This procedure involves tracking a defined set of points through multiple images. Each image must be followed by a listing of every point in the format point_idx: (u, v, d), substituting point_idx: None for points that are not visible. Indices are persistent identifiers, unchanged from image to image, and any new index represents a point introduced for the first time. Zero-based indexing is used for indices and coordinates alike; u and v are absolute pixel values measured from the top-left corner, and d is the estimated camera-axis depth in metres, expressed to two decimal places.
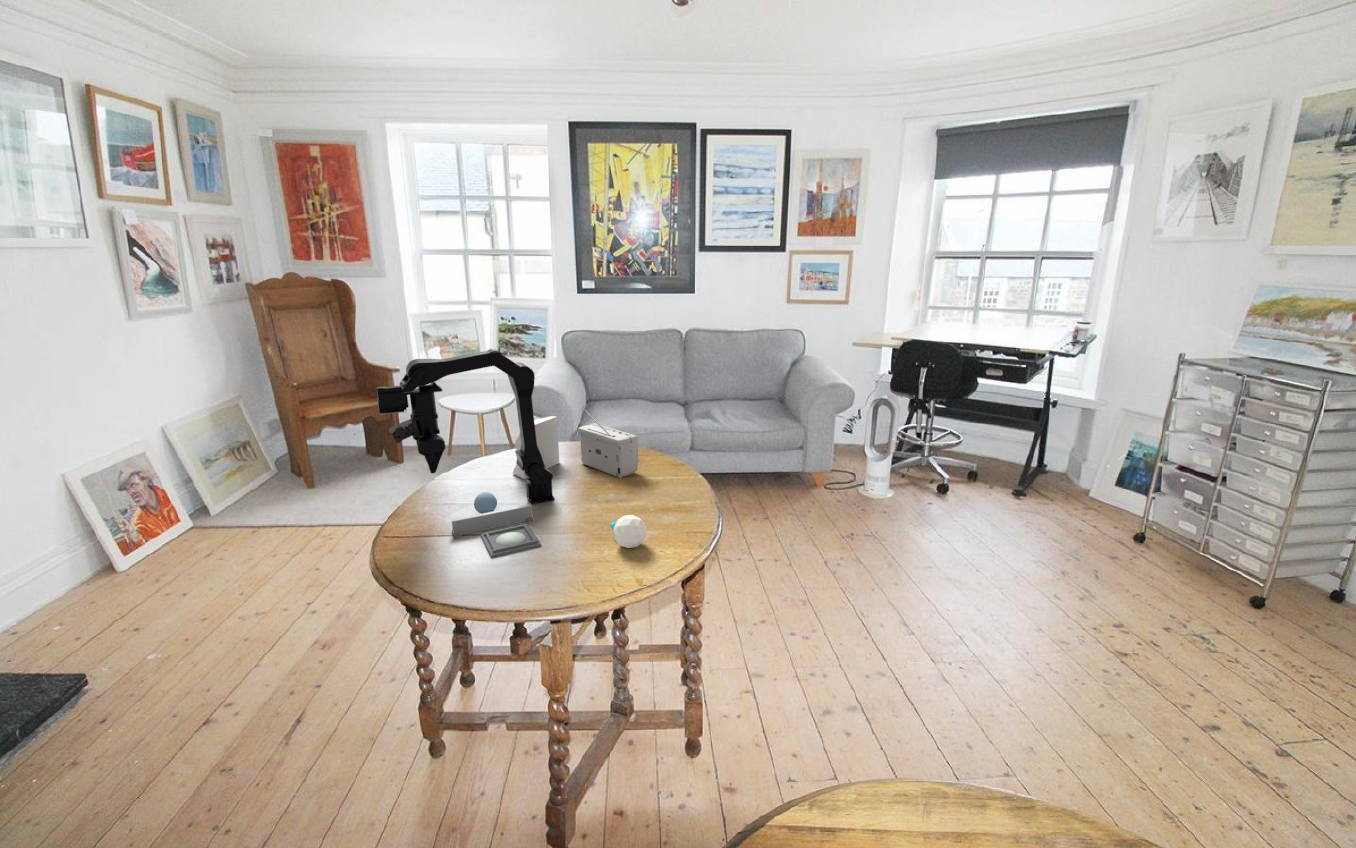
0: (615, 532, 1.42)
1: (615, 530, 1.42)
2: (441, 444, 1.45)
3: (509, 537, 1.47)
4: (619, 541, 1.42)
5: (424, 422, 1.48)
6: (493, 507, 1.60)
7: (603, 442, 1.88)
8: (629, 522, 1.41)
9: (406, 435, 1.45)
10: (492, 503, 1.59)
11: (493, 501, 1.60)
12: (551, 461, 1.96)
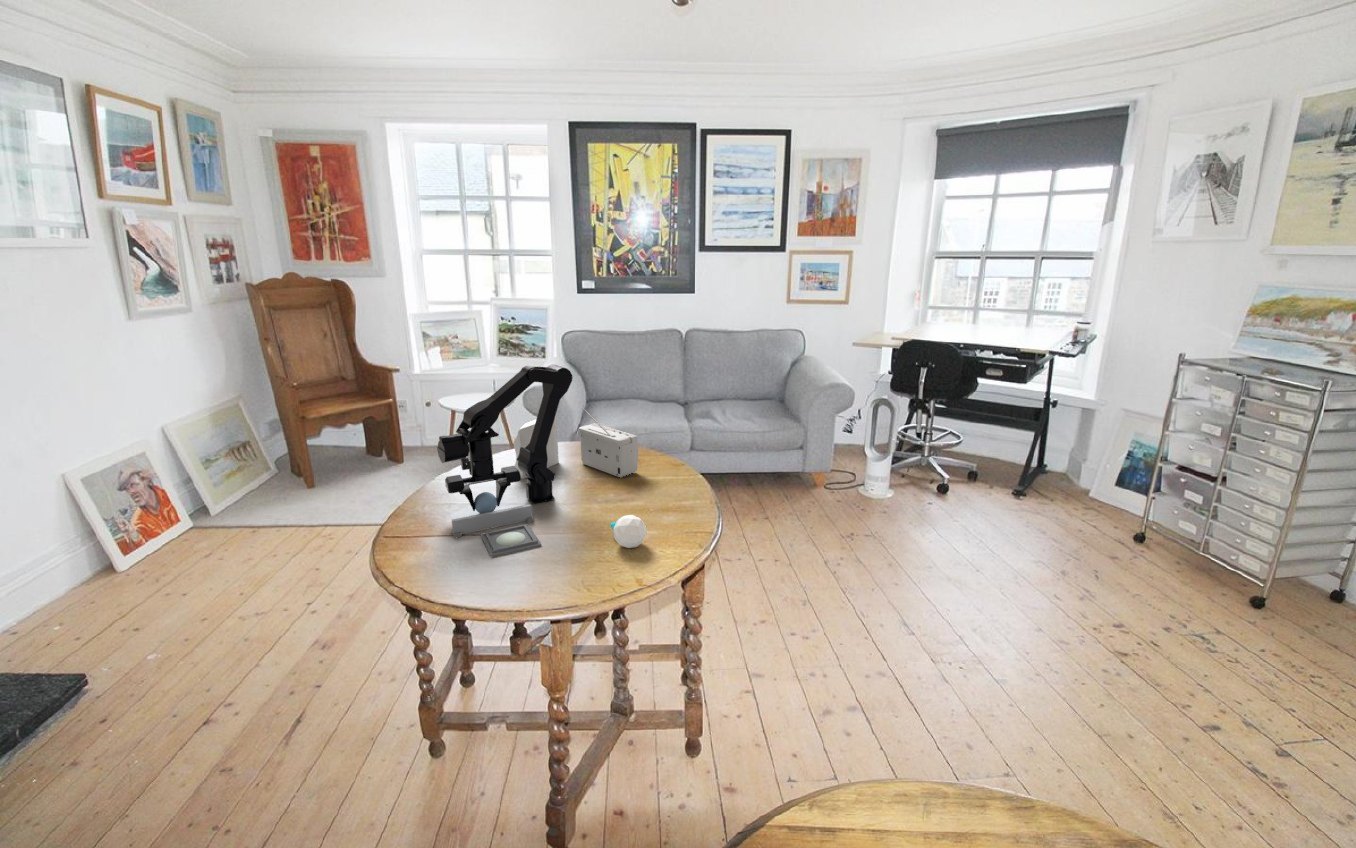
0: (615, 532, 1.42)
1: (615, 530, 1.42)
2: (447, 487, 1.53)
3: (509, 537, 1.47)
4: (619, 541, 1.42)
5: (470, 464, 1.57)
6: (493, 507, 1.60)
7: (603, 442, 1.88)
8: (629, 522, 1.41)
9: (462, 468, 1.60)
10: (493, 503, 1.59)
11: (493, 501, 1.60)
12: (550, 461, 1.96)
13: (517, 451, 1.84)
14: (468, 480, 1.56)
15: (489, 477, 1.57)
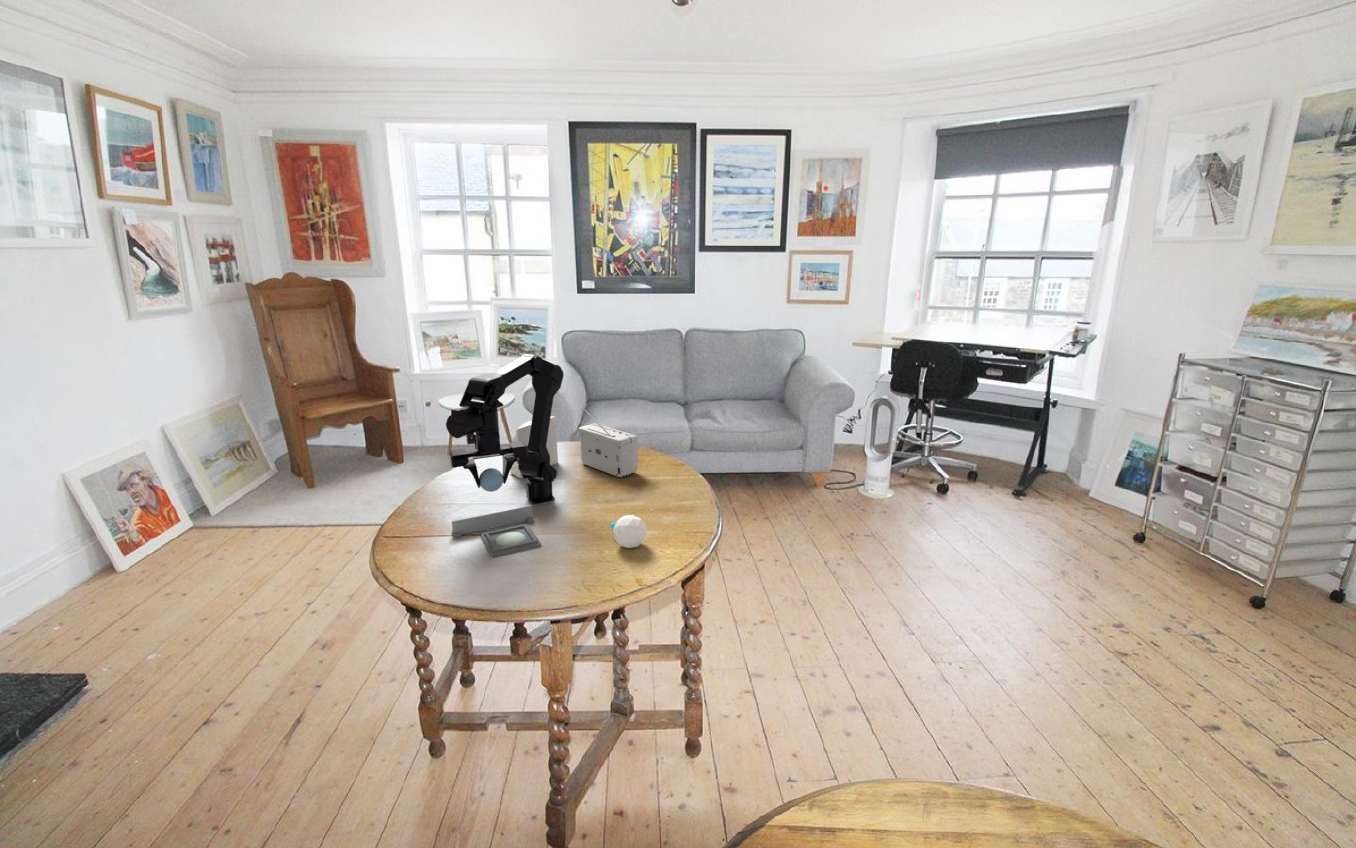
0: (615, 532, 1.42)
1: (615, 530, 1.42)
2: (451, 461, 1.44)
3: (509, 537, 1.47)
4: (619, 541, 1.42)
5: None
6: (499, 484, 1.50)
7: (603, 442, 1.88)
8: (629, 522, 1.41)
9: (467, 442, 1.51)
10: (498, 479, 1.50)
11: (499, 477, 1.50)
12: None
13: None
14: (473, 454, 1.47)
15: (495, 451, 1.47)
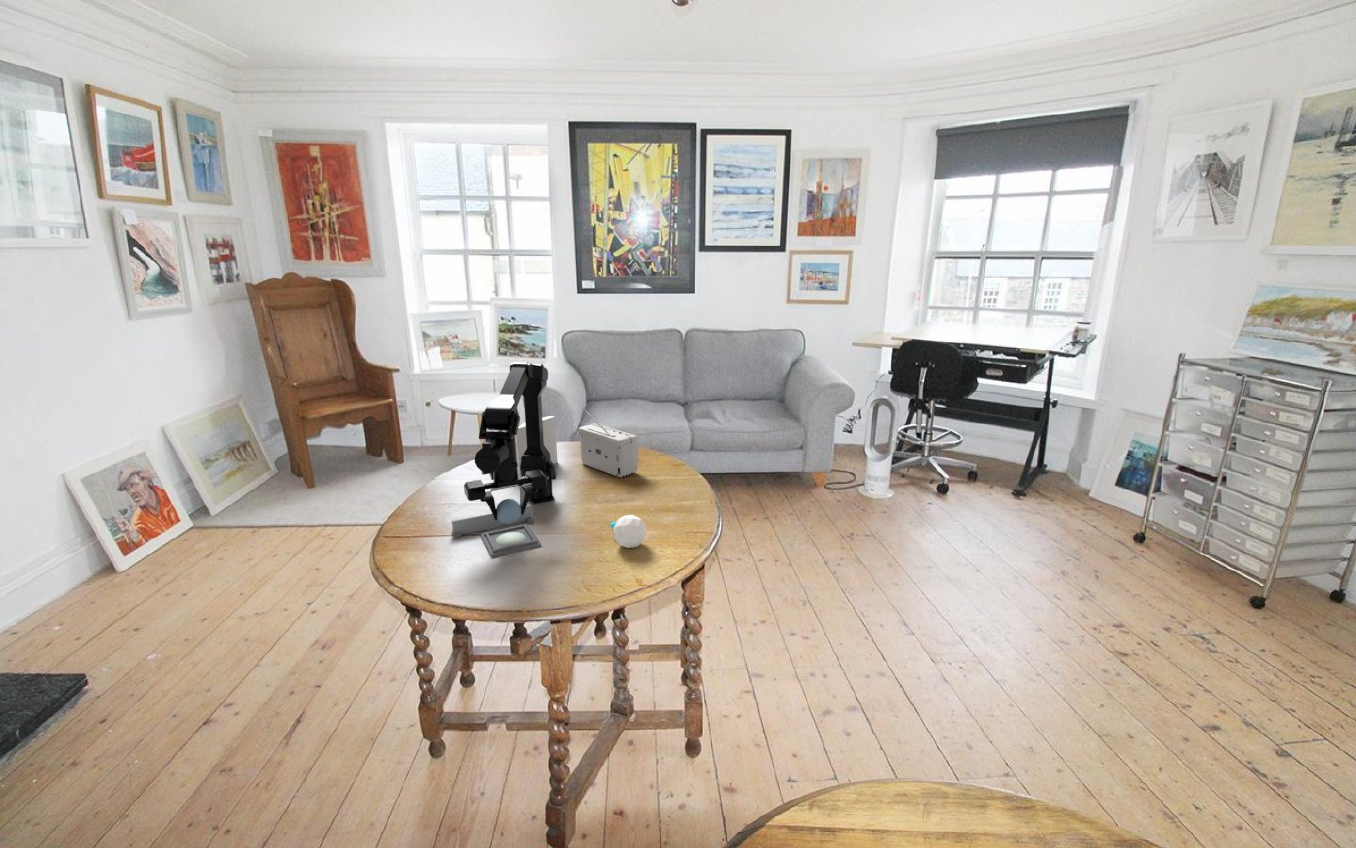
0: (615, 532, 1.42)
1: (615, 530, 1.42)
2: (467, 494, 1.36)
3: (509, 537, 1.47)
4: (619, 541, 1.42)
5: None
6: (517, 516, 1.43)
7: (603, 442, 1.88)
8: (629, 522, 1.41)
9: (483, 472, 1.44)
10: (517, 511, 1.43)
11: (517, 509, 1.43)
12: None
13: None
14: (490, 486, 1.40)
15: (513, 482, 1.40)
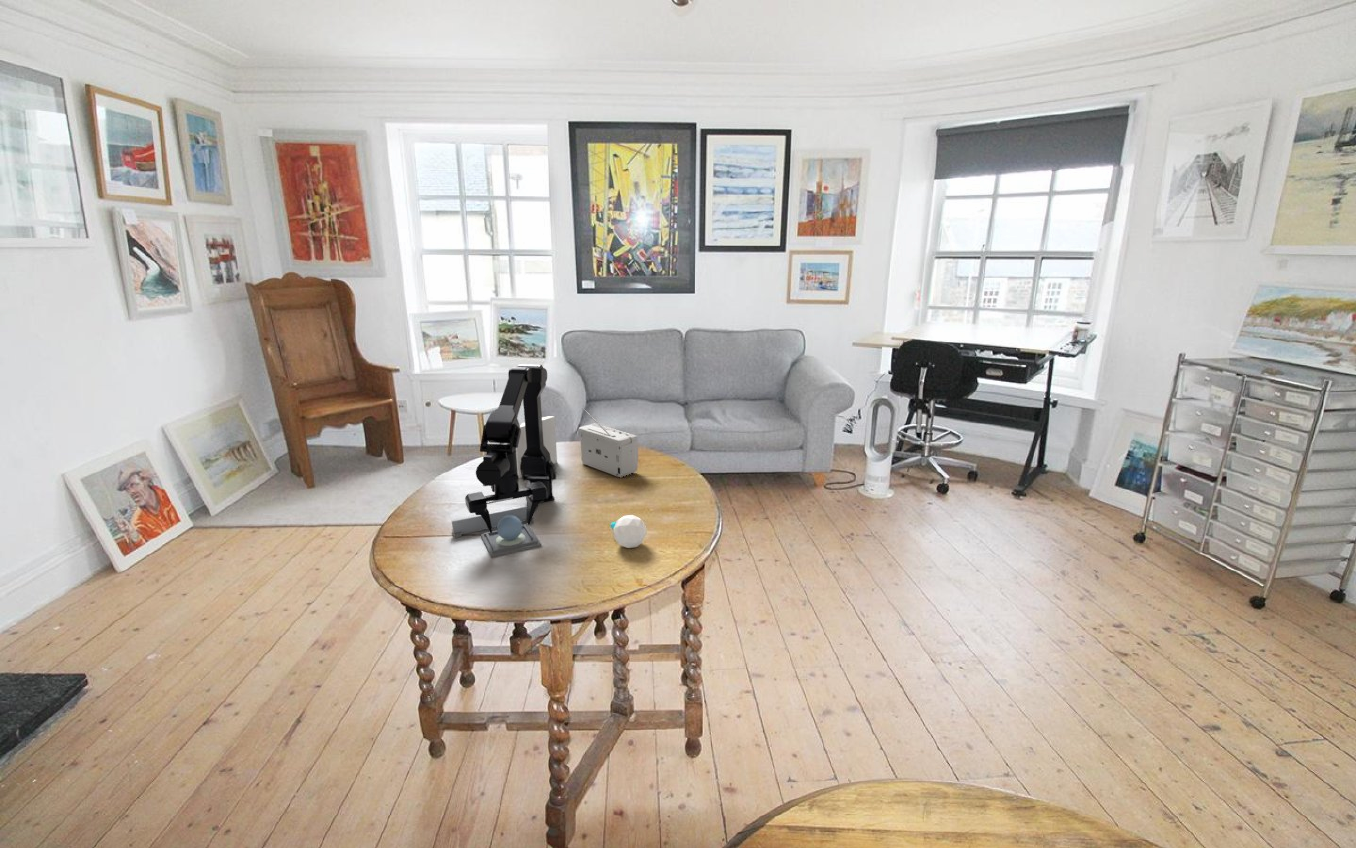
0: (615, 532, 1.42)
1: (615, 530, 1.42)
2: (468, 507, 1.37)
3: None
4: (619, 541, 1.42)
5: None
6: (518, 532, 1.45)
7: (603, 442, 1.88)
8: (629, 522, 1.41)
9: (484, 484, 1.45)
10: (518, 527, 1.44)
11: (518, 525, 1.44)
12: None
13: None
14: (491, 498, 1.41)
15: (514, 494, 1.41)
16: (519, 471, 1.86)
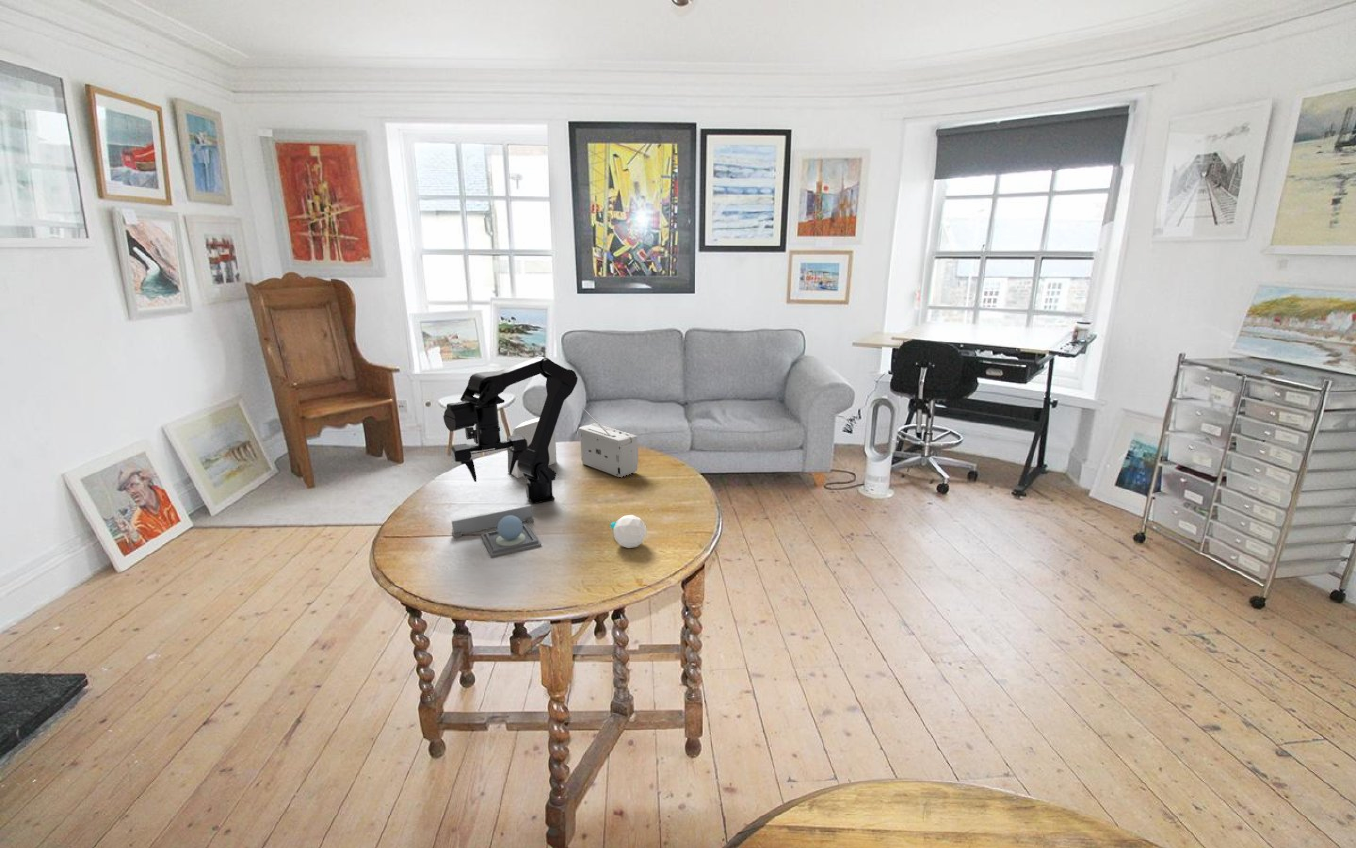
0: (615, 532, 1.42)
1: (615, 530, 1.42)
2: (454, 456, 1.49)
3: None
4: (619, 541, 1.42)
5: (476, 432, 1.53)
6: (519, 532, 1.45)
7: (603, 442, 1.88)
8: (629, 522, 1.41)
9: (467, 437, 1.57)
10: (518, 527, 1.44)
11: (519, 525, 1.44)
12: None
13: None
14: (474, 449, 1.53)
15: (496, 445, 1.53)
16: (518, 471, 1.86)
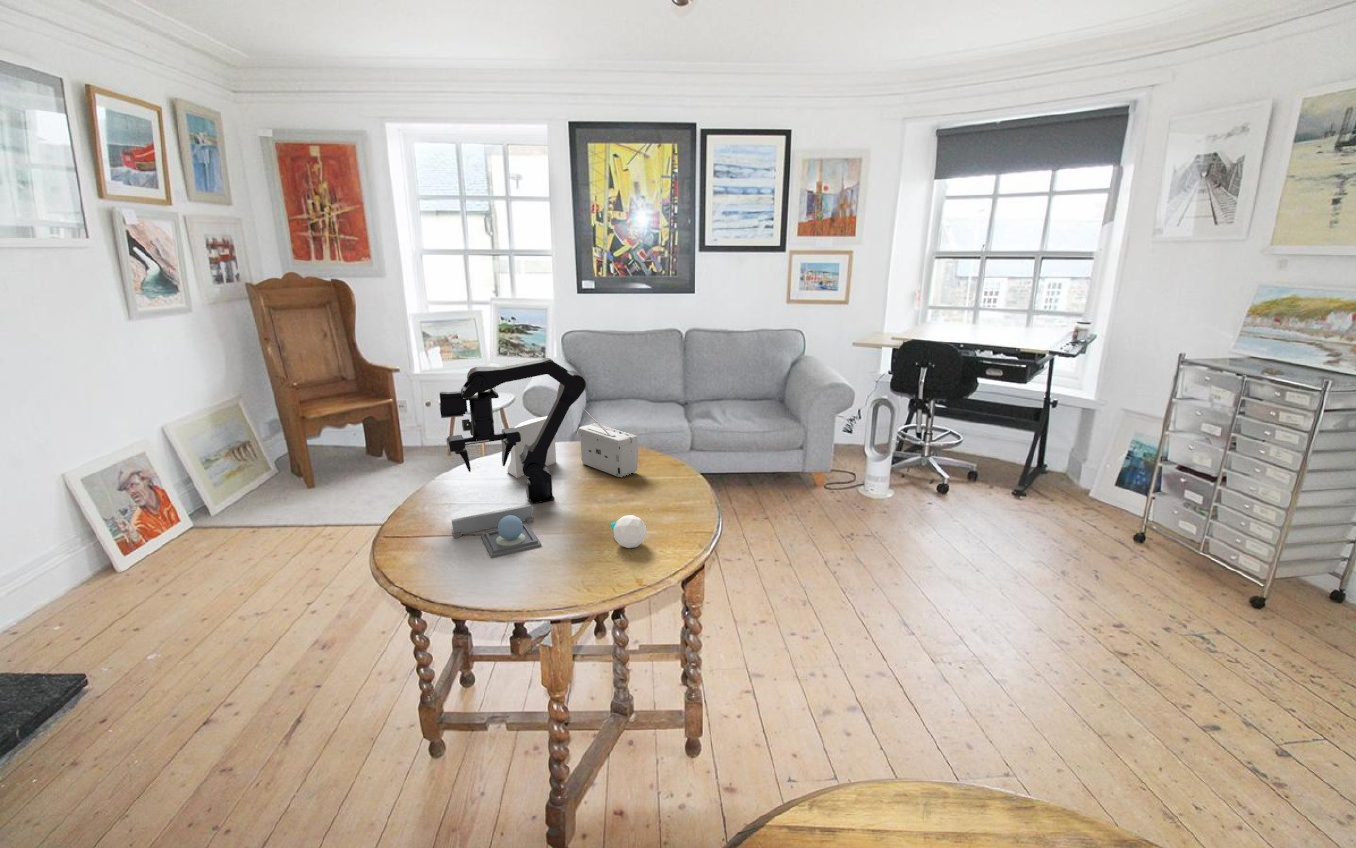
0: (615, 532, 1.42)
1: (615, 530, 1.42)
2: (449, 446, 1.55)
3: None
4: (619, 541, 1.42)
5: (471, 424, 1.59)
6: (519, 532, 1.45)
7: (603, 442, 1.88)
8: (629, 522, 1.41)
9: (463, 429, 1.63)
10: (519, 527, 1.44)
11: (519, 525, 1.44)
12: (546, 461, 1.96)
13: (511, 450, 1.85)
14: (469, 440, 1.59)
15: (490, 437, 1.59)
16: (517, 471, 1.86)
